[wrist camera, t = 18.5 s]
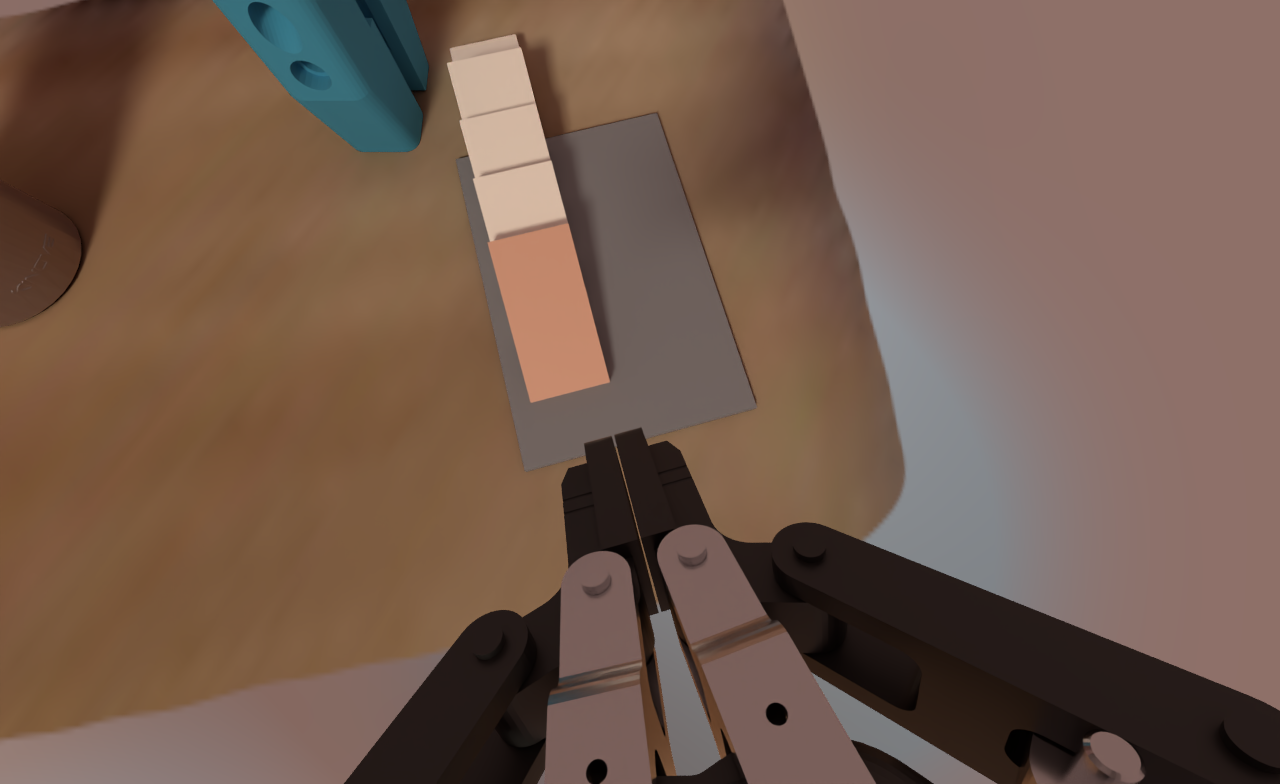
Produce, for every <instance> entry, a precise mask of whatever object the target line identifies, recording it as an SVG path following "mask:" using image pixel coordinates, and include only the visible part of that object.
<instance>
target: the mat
mask: <svg viewBox="0 0 1280 784" xmlns="http://www.w3.org/2000/svg"><path fill="white" fill-rule="evenodd" d="M545 140H546V144H547V148H548V152H549V156H550V159H551V161H552V165H553V169H554V173H555V176H556V180H557V184H558V188H559V191H560V195H561V199H562V203H563V206H564V210H565V214H566V218H567V221H568V224H569V228H570V231H571V235H572V239H573V243H574V247H575V250H576V254H577V258H578V262H579V266H580V269H581V273H582V277H583V281H584V285H585V288H586V292H587V296H588V300H589V304H590V307H591V311H592V315H593V319H594V323H595V327H596V330H597V334H598V338H599V342H600V346H601V349H602V353H603V357H604V361H605V365H606V368H607V372H608V376H609V380H610V382H609V383H605V384H601V385H598V386H594V387H590V388H586V389H582V390H578V391H575V392H571V393H567V394H563V395H559V396H555V397H552V398H548V399H544V400H540V401H536V402H532V403H531V402H530V399H529V395H528V391H527V387H526V384H525V380H524V376H523V373H522V369H521V365H520V362H519V358H518V354H517V350H516V347H515V343H514V339H513V336H512V332H511V328H510V324H509V321H508V317H507V313H506V310H505V306H504V302H503V298H502V295H501V291H500V287H499V284H498V280H497V276H496V272H495V269H494V265H493V261H492V258H491V254H490V250H489V246H488V243H487V242H490V240H489V236H488V232H487V229H486V225H485V221H484V218H483V214H482V210H481V207H480V203H479V200H478V196H477V192H476V189H475V185H474V181H473V179H474V178H475V176H474V173H473V169H472V165H471V162H470V158H469V156H468V157H464V158H459V159H456V163H457V167H458V172H459V177H460V181H461V186H462V190H463V195H464V199H465V204H466V208H467V213H468V217H469V222H470V226H471V231H472V235H473V240H474V244H475V249H476V253H477V258H478V262H479V267H480V271H481V276H482V280H483V285H484V289H485V294H486V298H487V303H488V307H489V312H490V316H491V321H492V325H493V330H494V334H495V339H496V343H497V348H498V352H499V357H500V361H501V366H502V370H503V375H504V379H505V384H506V388H507V393H508V397H509V402H510V406H511V411H512V415H513V420H514V424H515V429H516V433H517V438H518V443H519V447H520V452H521V456H522V461H523V465H524V470H525V471H526V472H527V471H531V470H534V469H538V468H542V467H545V466H549V465H553V464H556V463H560V462H563V461H567V460H571V459H574V458H578V457H582V456H585V455H586V454H585V448H584V443H586V442H590V441H594V440H597V439H601V438H604V437H608V436H612V439H613V442H614V446H615V447H617V444H616V441H615V437H614V435H615V434H618V433H622V432H626V431H629V430H633V429H636V428H640V427H641V428H642V430H643V433H644V436H645V439H647V438H651V437H654V436H658V435H661V434H665V433H669V432H672V431H676V430H680V429H683V428H687V427H690V426H694V425H698V424H701V423H705V422H709V421H712V420H716V419H720V418H723V417H727V416H730V415H734V414H738V413H741V412H745V411H749V410H752V409H756V408H757V406H756V403H755V400H754V397H753V394H752V391H751V388H750V385H749V382H748V380H747V377H746V374H745V371H744V368H743V365H742V362H741V359H740V356H739V353H738V350H737V347H736V344H735V341H734V338H733V335H732V332H731V330H730V327H729V324H728V321H727V318H726V315H725V312H724V309H723V306H722V303H721V300H720V297H719V294H718V291H717V288H716V285H715V282H714V279H713V277H712V274H711V271H710V268H709V265H708V262H707V259H706V256H705V253H704V250H703V247H702V244H701V241H700V238H699V235H698V232H697V229H696V226H695V224H694V221H693V218H692V215H691V212H690V209H689V206H688V203H687V200H686V197H685V194H684V191H683V188H682V185H681V182H680V179H679V176H678V174H677V171H676V168H675V165H674V162H673V159H672V156H671V153H670V150H669V147H668V144H667V141H666V138H665V135H664V132H663V129H662V126H661V123H660V121H659V118H658V115H657V113H654V114H650V115H646V116H641V117H637V118H633V119H628V120H624V121H620V122H615V123H611V124H607V125H602V126H598V127H594V128H589V129H585V130H581V131H576V132H572V133H568V134H563V135H559V136H555V137H550V138H546V139H545Z"/></svg>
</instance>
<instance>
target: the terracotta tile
mask: <svg viewBox="0 0 1280 784" xmlns="http://www.w3.org/2000/svg"><path fill="white" fill-rule="evenodd" d="M487 243H488V246H489V250H490V254H491V258H492V261H493V265H494V269H495V272H496V276H497V280H498V284H499V287H500V291H501V295H502V298H503V302H504V306H505V310H506V313H507V317H508V321H509V324H510V328H511V332H512V336H513V339H514V343H515V347H516V350H517V354H518V358H519V362H520V365H521V369H522V373H523V376H524V380H525V384H526V387H527V391H528V395H529V399H530V402H531V403H532V402H536V401H540V400H544V399H548V398H552V397H555V396H559V395H563V394H567V393H571V392H575V391H578V390H582V389H586V388H590V387H594V386H598V385H601V384H605V383H609V382H610V380H609V376H608V372H607V368H606V365H605V361H604V357H603V353H602V349H601V346H600V342H599V338H598V334H597V330H596V327H595V323H594V319H593V315H592V311H591V307H590V304H589V300H588V296H587V292H586V288H585V285H584V281H583V277H582V273H581V269H580V266H579V262H578V258H577V254H576V250H575V247H574V243H573V239H572V235H571V231H570V228H569V224H568V223H567V224H563V225H559V226H554V227H550V228H546V229H542V230H538V231H533V232H529V233H525V234H521V235H517V236H512V237H508V238H504V239H500V240H496V241H491V242H487Z"/></svg>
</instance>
